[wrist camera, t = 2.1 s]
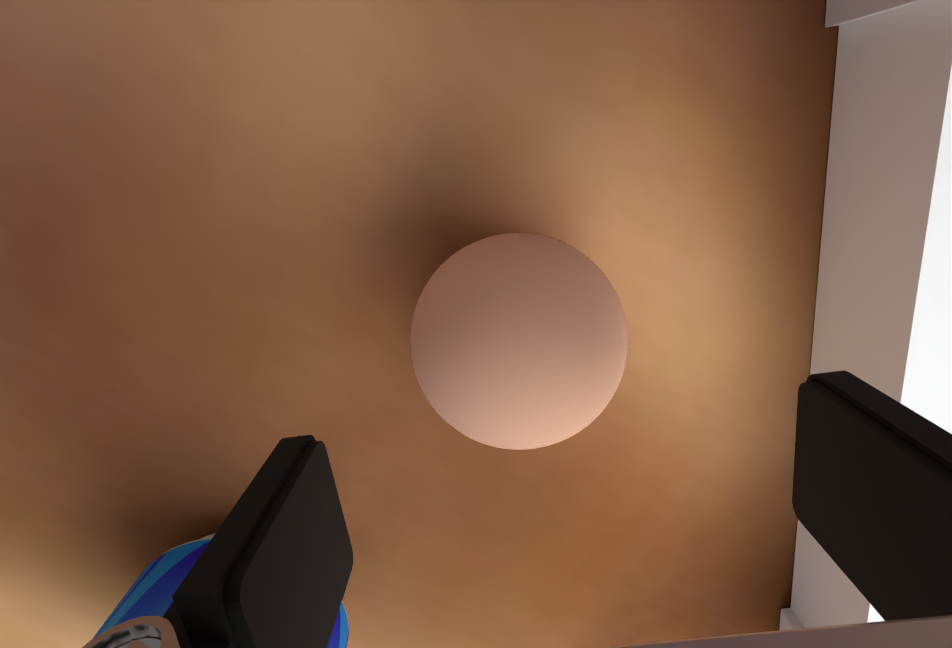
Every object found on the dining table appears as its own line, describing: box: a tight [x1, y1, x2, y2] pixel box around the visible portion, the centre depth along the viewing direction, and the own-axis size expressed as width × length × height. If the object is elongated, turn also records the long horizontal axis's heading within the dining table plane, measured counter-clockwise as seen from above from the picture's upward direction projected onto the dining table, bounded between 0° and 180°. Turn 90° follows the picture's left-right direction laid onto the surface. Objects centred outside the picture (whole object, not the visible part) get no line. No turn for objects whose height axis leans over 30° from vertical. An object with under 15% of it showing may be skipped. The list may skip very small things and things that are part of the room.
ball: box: [410, 233, 628, 450], centre depth 15 cm, size 6×6×6 cm
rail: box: [779, 0, 952, 631], centre depth 16 cm, size 26×2×5 cm, turn 8°
